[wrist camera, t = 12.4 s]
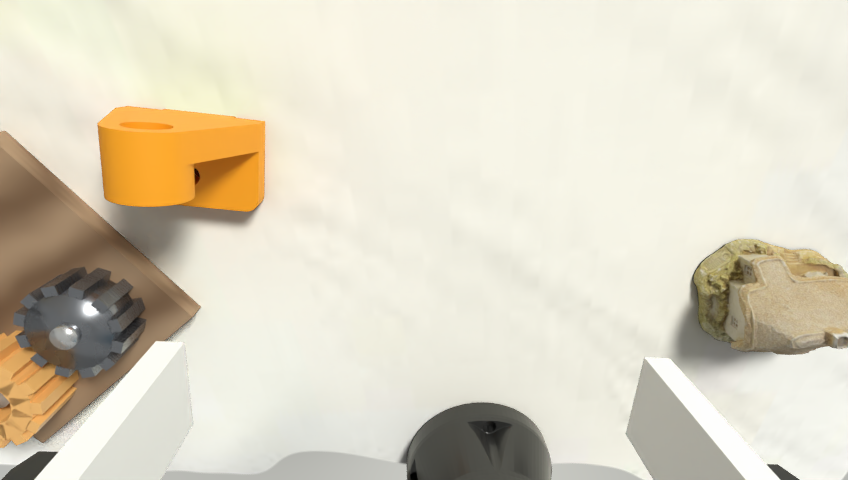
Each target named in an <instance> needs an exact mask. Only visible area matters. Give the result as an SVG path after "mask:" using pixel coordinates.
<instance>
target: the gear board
mask: <svg viewBox="0 0 848 480" xmlns="http://www.w3.org/2000/svg"><path fill="white" fill-rule="evenodd" d="M79 267H85V268H86V271H87V273H88V274H89V273H91V272H92V271H94V270H95V269H97V268H102V269H105V270H108V271H111V276H110V280H111V281H113V282H115V283H116V284H117V283H118V282H119V281H121V280H122V279H123V278H124V279H125V280H126V281H128V282H129V283H130V284H131V285H132V286H133V288H132V289H131V290H130V291H129V292H128V294H129V295H130V297H131V298H132V299H135V298H142V300H143V303H144V305H145V308H146V309H145V310H144V311H143V312H141V313H140V314H139V315H138V316H137V317H139V318H143V319H146V320H147V321H146V325H145V329H144V331H143V332H142V333H141V334H140V335H139V336H138V337H137V338H138V340H137V341H136V342H135V344H134V345H133V346H132V347H131V348H130V349H129V350H128V351H127V352H126V353H125V354H124V355H123V356H122V357H121V358H120V359H119V360H118V361H117V362H116V363H115V364H114V365H113V366H112V367H111V368H110V369H108V370H107V371H106V370H104V369H102V370H101V371H100V372H99V373H98V374H97V375H96V376H94V377H88V378H82V377H81V375H80V372H79V370H77V371H78V378H79V379H78V380H77V381H76V382H75V383H74V384H73V385H72V386H73V387H75V388H77V389H76V391H75V393H74V394H73V396H72V397H71V398H70V399H69V400H68V401H67V403H66V404H65V405H64V406H63V407H62V408H61V409H60V410H59V411H58V412H57V413H56V414H55V415H54V416H53V417H52V418H51V419H50V420H49V421H48V422H47V423H46V424H45V425H44V426H43V427H42V428H41V429H40V430H39V431H38V432H37V433H36V434H34V435H33V437H35V438H36V439H38V440H39V441H40V442H42V443H44V442H45V441H46V440H47V439H48V438H50V437H51V436H52V435H53V434H54V433H56V432H57V431H58V430H59V429H60V428H62V427H63V426H64V425H65V424H66V423H67V422H69V421H70V420H71V419H72V418H73V417H75V416H76V415H77V414H78V413H79V412H81V411H82V410H83V409H84V408H85V407H86V406H88V405H89V404H90V403H91V402H92V401H94V400H95V399H96V398H97V397H98V396H99V395H101V394H102V393H103V392H104V391H105V390H107V389H108V388H109V387H110V386H111V385H113V384H114V383H115V382H116V381H117V380H118V379H120V378H121V377H122V376H123V375H124V374H126V373H127V372H128V371H129V370H130V369H132V368H133V367H134V366H135V365H136V363H137V362H138V361H139V360H140V359H141V358H142V357H143V355H144V354H145V353H146V352H147V351H148V350H149V349H150V347H151V346H152V345H153V344H154V343H155V342H156V341H165V340H166V339H167V338H168V337H169V336H171V335H172V334H173V333H174V332H175V331H177V330H178V329H179V328H180V327H181V326H183V325H184V324H185V323H186V322H187V321H188V320H190V319H191V318H192V317H193V316H194V315H195V313H196V312H197V311H198V310H199V309H200V306H199V305H198V304H197V303H196V302H195V301H194V300H193V299H192V298H190V297H189V296H188V295H187V294H186V293H185V292H184V291H183V290H182V289H180V288H179V287H178V286H177V285H176V284H175V283H174V282H173V281H172V280H170V279H169V278H168V277H167V276H166V275H165V274H164V273H163V272H162V271H160V270H159V269H158V268H157V267H156V266H155V265H154V264H153V263H152V262H150V261H149V260H148V259H147V258H146V257H145V256H144V255H143V254H142V253H140V252H139V251H138V250H137V249H136V248H135V247H134V246H133V245H132V244H130V243H129V242H128V241H127V240H126V239H125V238H124V237H123V236H122V235H120V234H119V233H118V232H117V231H116V230H115V229H114V228H113V227H112V226H110V225H109V224H108V223H107V222H106V221H105V220H104V219H103V218H102V217H100V216H99V215H98V214H97V213H96V212H95V211H94V210H93V209H92V208H90V207H89V206H88V205H87V204H86V203H85V202H84V201H83V200H82V199H80V198H79V197H78V196H77V195H76V194H75V193H74V192H73V191H72V190H70V189H69V188H68V187H67V186H66V185H65V184H64V183H63V182H62V181H60V180H59V179H58V178H57V177H56V176H55V175H54V174H53V173H52V172H50V171H49V170H48V169H47V168H46V167H45V166H44V165H43V164H42V163H40V162H39V161H38V160H37V159H36V158H35V157H34V156H33V155H32V154H30V153H29V152H28V151H27V150H26V149H25V148H24V147H23V146H22V145H20V144H19V143H18V142H17V141H16V140H15V139H14V138H13V137H12V136H10V135H9V134H8V133H7V132H6V131H2V132H0V334H2V333H5V334H6V336H9V335H10V334H12V333H13V332H15V331H16V330H17V331H24V327H21V326H17V325H14V324H13V319H14V312H16V311H18V310H19V309H21V308H22V307H24V305H23V304H21V303H20V301H21V300H23V299H24V298H25V297H26V296H27V295H28V294H29V293H31V292H32V291H34V290H36V289H37V288H39V287H41V286H42V285H44V284H45V283H47V282H49V281H50V280H52V279H54V278H55V277H57V276H58V275H60V274H62V275H63V274H64V273H66V272H67V271H69V270H71V269H73V268H79ZM9 403H10V402H9V401H8V400H7V399H6V398H5V397H4V396H3V394H1V393H0V408H3V407H6V406H7V405H8V404H9Z"/></svg>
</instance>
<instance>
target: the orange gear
mask: <svg viewBox="0 0 848 480" xmlns="http://www.w3.org/2000/svg"><path fill="white" fill-rule="evenodd" d="M21 332H22V331H17V330H16V331H15V332H13V333H12V334H10V335H9V336H6V334H5V333H2V334H0V393H1V394H3V396H4V397H5V398H6V399H7V400H8V401H9V402H10V403H9V404H8V405H7V406H6V407H3V408H0V448H4V447H5V446H6V445H7V444H8V443H9V442H10V441H11V440H12V441H13V443H14V444H15V445H16V446H17V445H19V444H21V443H24V442H26V441H28V440H29V439H30V438H31V437H32V436H33V435H34V434H36V433H37V432H38V431H39V430H40V429H41V428H42V427H43V426H44V425H45V424H46V423H47V422H48V421H49V420H50V419H51V418H52V417H53V416H54V415H55V414H56V413H57V412H58V411H59V410H60V409H61V408H62V407H63V406H64V405H65V404H66V403H67V401H68V400H69V399H70V398H71V397H72V396H73V394H74V393H75V391H76V389H77V388H75V387H73V386H72V385H73V384H74V383H75V382H76V381H77V380H78V379H79V378H78V371H77V370H76V371H75V372H74V373H73V374H72V375H71V376H70V377H69V378H68V377H64V376H60V375H56V374H55V368H56V365H53V364H51V363H49V362H47V363H46V364H45V365H44V366H43V367H40V366H39V365H37V364H36V363H35V362H33V361H32V360H31V359H30V358H31V357H33V356H34V355H35V354H36V352H35V351H34V350H33V348H32V347H25V348H21V347H20V345H19V343H18V341H17V339H16V337H15V336H16V335H18V334H19V333H21Z"/></svg>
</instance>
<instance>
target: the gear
mask: <svg viewBox="0 0 848 480" xmlns="http://www.w3.org/2000/svg"><path fill="white" fill-rule="evenodd" d="M110 276H111V271H108V270H105V269H102V268H97V269H95V270H94V271H92V272H91V273H89V274H88V273H87V271H86V268H85V267H79V268H73V269H71V270H69V271H67V272H66V273H64V274H63V275H62V274H60V275H58V276H57V277H55V278H54V279H52V280H50V281H49V282H47V283H45V284H44V285H42V286H41V287H39V288H37V289H36V290H34V291H32V292H31V293H29V294H28V295H27V296H26V297H25V298H24V299H23V300H21V301H20V303H21V304H23V305H24V307H22V308H21V309H19V310H18V311H16V312H14V319H13V324H14V325H17V326H21V327H24V331H22V332H21V333H19V334H18V335H16V336H15V337H16V339H17V341H18V343H19V345H20V347H21V348H25V347H32V348H33V350H34V351H35V352H36V354H35V355H34V356H33V357H31V358H30V359H31V360H32V361H33V362H35V363H36V364H37V365H39V366H40V367H43V366H44V365H45V364H46V363H47V362H49V363H51V364H53V365H56V368H55V374H56V375H60V376H64V377H68V378H69V377H70V376H71V375H72V374H73V373H74V372H75V371H76V370H79V372H80V375H81V377H82V378H88V377H94V376H96V375H97V374H98V373H99V372H100V371H101V370H102V369H104V370H106V371H107V370H108V369H110V368H111V367H112V366H113V365H114V364H115V363H116V362H117V361H118V360H119V359H120V358H121V357H122V356H123V355H124V354H125V353H126V352H127V351H128V350H129V349H130V348H131V347H132V346H133V345H134V344H135V342H136V341H137V340H138V338H137V337H138V336H139V335H140V334H141V333H142V332H143V331H144V329H145V325H146V321H147V320H146V319H143V318H139V317H137V316H138V315H139V314H140V313H141V312H143V311H144V310H145V309H146V308H145V305H144V303H143V300H142V298H135V299H132V298H131V297H130V295H129V294H128V292H129V291H130V290H131V289H132V288H133V286H132V285H131V284H130V283H129V282H128V281H126V280H125V279H124V278H123V279H122V280H121V281H119V282H118V283H117V284H116V283H115V282H113V281H111V280H110Z"/></svg>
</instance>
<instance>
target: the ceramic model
mask: <svg viewBox="0 0 848 480" xmlns="http://www.w3.org/2000/svg"><path fill="white" fill-rule="evenodd" d="M694 283H695V285H696V287H697V291H698V301H699V309H698V316H699V323H700V324H701V327H702V329H703V330H704V331H706V332H707V333H708V334H710V335H712V336H713V337H714V339H716V340H719V341H724V342H729V343H732V344H731V348H732V349H737V350H739V351H742V352H749V351H757V352H773V353H776V354H784V355H794V354H805V353H809V351H812V350H815V349H816V348H820V347H825V346H830V347H832V348H837V349H843V348H848V274H847V273H846V272H845V271H844V270H843V268H842V266H840V265H838V264H833V263H831V262H829V261H828V260H827V259H826V258H824V257H823V256H821V254H819V253H818V252H816V251H813V250H808V249H801V250H789V249H785V248H782V247H778V246H773V245H770V244H767V243H764V242H762V241H759V240H754V239H738V240H735V241H732V242H730V243H728V244H726V245H725V246H723V247H722V248H720V249H719V250H717V251H716V252H715V253H714V254H712V255H710V256H709V257H708V258H706V259H705V260H704V261H703V262H702V263H701V264H700V266H699V267H698V269H697V270H696V272H695V274H694Z"/></svg>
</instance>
